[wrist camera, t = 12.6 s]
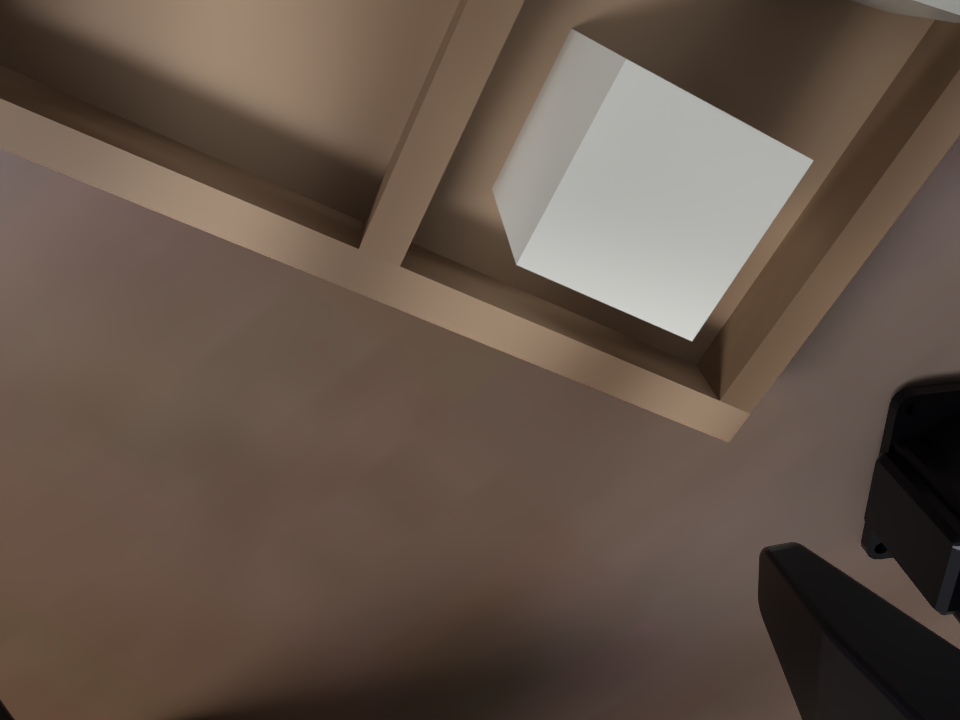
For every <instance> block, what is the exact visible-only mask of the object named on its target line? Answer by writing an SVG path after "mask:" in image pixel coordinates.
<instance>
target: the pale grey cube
mask: <svg viewBox="0 0 960 720" xmlns="http://www.w3.org/2000/svg"><path fill="white" fill-rule="evenodd" d="M850 1H854V2H857V3H860V4H863V5H866V6H869V7H873V8H876V9H879V10H882V11H885V12H889V13H895V14H902V15H908V16H915V17H922V18H928V19H935V20H941V21H948V22H954V23H960V0H850Z"/></svg>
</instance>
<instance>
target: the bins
mask: <svg viewBox="0 0 960 720" xmlns="http://www.w3.org/2000/svg"><path fill="white" fill-rule="evenodd" d="M571 29H573V30H575V31H577V32H579V33H581V34H582V35H584V36H586V37H588V38H590V39H592V40H594V41H595V42H597V43H599V44H601V45H603V46H605V47H606V48H608V49H610V50H612V51H614V52H616V53H618V54H619V55H621V56H623V57H625V58H627V59H629V60H630V61H632V62H634V63H636V64H638V65H640V66H642V67H643V68H645V69H647V70H649V71H651V72H653V73H654V74H656V75H658V76H660V77H662V78H664V79H665V80H667V81H669V82H671V83H673V84H675V85H677V86H678V87H680V88H682V89H684V90H686V91H688V92H689V93H691V94H693V95H695V96H697V97H699V98H701V99H702V100H704V101H706V102H708V103H710V104H712V105H713V106H715V107H717V108H719V109H721V110H723V111H724V112H726V113H728V114H730V115H732V116H734V117H735V118H737V119H739V120H741V121H743V122H744V123H746V124H748V125H750V126H752V127H754V128H755V129H757V130H759V131H761V132H763V133H765V134H766V135H768V136H770V137H772V138H774V139H775V140H777V141H779V142H781V143H783V144H785V145H786V146H788V147H790V148H792V149H794V150H796V151H797V152H799V153H801V154H803V155H805V156H806V157H808V158H810V159H812V160H814V161H813V162H812V164H811V165H810V167H809V168H808V170H807V171H806V173H805V174H804V176H803V177H802V179H801V180H800V182H799V183H798V185H797V186H796V188H795V189H794V191H793V192H792V194H791V195H790V197H789V198H788V200H787V201H786V203H785V204H784V205H783V207H782V208H781V210H780V211H779V213H778V214H777V216H776V217H775V219H774V220H773V222H772V223H771V225H770V226H769V228H768V229H767V231H766V232H765V234H764V235H763V237H762V238H761V240H760V241H759V243H758V244H757V246H756V247H755V249H754V250H753V252H752V253H751V255H750V256H749V258H748V259H747V261H746V262H745V263H744V265H743V266H742V268H741V269H740V271H739V272H738V274H737V275H736V277H735V278H734V280H733V281H732V283H731V284H730V286H729V287H728V289H727V290H726V292H725V293H724V295H723V296H722V298H721V299H720V301H719V302H718V304H717V305H716V307H715V308H714V310H713V311H712V313H711V314H710V316H709V317H708V319H707V320H706V322H705V323H704V324H703V326H702V327H701V329H700V330H699V332H698V333H697V335H696V336H695V338H694V339H693V341H690V340H688V339H685V338H683V337H681V336H678V335H676V334H674V333H672V332H669V331H667V330H665V329H662V328H660V327H658V326H655V325H653V324H651V323H649V322H646V321H644V320H642V319H639V318H637V317H635V316H633V315H630V314H628V313H626V312H623V311H621V310H619V309H616V308H614V307H612V306H610V305H607V304H605V303H603V302H600V301H598V300H596V299H593V298H591V297H589V296H587V295H584V294H582V293H580V292H577V291H575V290H573V289H571V288H568V287H566V286H564V285H561V284H559V283H557V282H554V281H552V280H550V279H548V278H545V277H543V276H541V275H538V274H536V273H534V272H532V271H529V270H527V269H525V268H522V267H520V266H518V265H516V262H515V259H514V256H513V253H512V250H511V247H510V244H509V241H508V238H507V234H506V231H505V228H504V225H503V222H502V219H501V216H500V213H499V210H498V207H497V203H496V200H495V197H494V194H493V191H492V188H493V186H494V184H495V182H496V180H497V178H498V176H499V174H500V172H501V170H502V167H503V165H504V163H505V161H506V159H507V157H508V155H509V153H510V151H511V149H512V147H513V145H514V143H515V141H516V139H517V137H518V135H519V133H520V131H521V129H522V127H523V125H524V123H525V121H526V119H527V117H528V115H529V113H530V111H531V109H532V107H533V105H534V103H535V101H536V99H537V97H538V95H539V93H540V91H541V89H542V87H543V85H544V83H545V81H546V79H547V77H548V75H549V73H550V71H551V69H552V67H553V65H554V63H555V61H556V59H557V57H558V55H559V52H560V50H561V48H562V46H563V44H564V42H565V40H566V38H567V36H568V34H569V32H570V30H571ZM959 135H960V23H954V22H948V21H941V20H935V19H928V18H922V17H915V16H908V15H902V14H895V13H889V12H885V11H882V10H879V9H876V8H873V7H869V6H866V5H863V4H860V3H857V2H854V1H850V0H0V149H2V150H5V151H7V152H10V153H12V154H15V155H17V156H20V157H22V158H25V159H27V160H29V161H32V162H34V163H37V164H39V165H42V166H44V167H47V168H49V169H52V170H54V171H57V172H59V173H62V174H64V175H67V176H69V177H72V178H74V179H77V180H79V181H82V182H84V183H86V184H89V185H91V186H94V187H96V188H99V189H101V190H104V191H106V192H109V193H111V194H114V195H116V196H119V197H121V198H124V199H126V200H129V201H131V202H134V203H136V204H138V205H141V206H143V207H146V208H148V209H151V210H153V211H156V212H158V213H161V214H163V215H166V216H168V217H171V218H173V219H176V220H178V221H181V222H183V223H186V224H188V225H190V226H193V227H195V228H198V229H200V230H203V231H205V232H208V233H210V234H213V235H215V236H218V237H220V238H223V239H225V240H228V241H230V242H233V243H235V244H238V245H240V246H243V247H245V248H247V249H250V250H252V251H255V252H257V253H260V254H262V255H265V256H267V257H270V258H272V259H275V260H277V261H280V262H282V263H285V264H287V265H290V266H292V267H295V268H297V269H299V270H302V271H304V272H307V273H309V274H312V275H314V276H317V277H319V278H322V279H324V280H327V281H329V282H332V283H334V284H337V285H339V286H342V287H344V288H347V289H349V290H352V291H354V292H356V293H359V294H361V295H364V296H366V297H369V298H371V299H374V300H376V301H379V302H381V303H384V304H386V305H389V306H391V307H394V308H396V309H399V310H401V311H404V312H406V313H408V314H411V315H413V316H416V317H418V318H421V319H423V320H426V321H428V322H431V323H433V324H436V325H438V326H441V327H443V328H446V329H448V330H451V331H453V332H456V333H458V334H461V335H463V336H465V337H468V338H470V339H473V340H475V341H478V342H480V343H483V344H485V345H488V346H490V347H493V348H495V349H498V350H500V351H503V352H505V353H508V354H510V355H513V356H515V357H517V358H520V359H522V360H525V361H527V362H530V363H532V364H535V365H537V366H540V367H542V368H545V369H547V370H550V371H552V372H555V373H557V374H560V375H562V376H565V377H567V378H570V379H572V380H574V381H577V382H579V383H582V384H584V385H587V386H589V387H592V388H594V389H597V390H599V391H602V392H604V393H607V394H609V395H612V396H614V397H617V398H619V399H622V400H624V401H626V402H629V403H631V404H634V405H636V406H639V407H641V408H644V409H646V410H649V411H651V412H654V413H656V414H659V415H661V416H664V417H666V418H669V419H671V420H674V421H676V422H679V423H681V424H683V425H686V426H688V427H691V428H693V429H696V430H698V431H701V432H703V433H706V434H708V435H711V436H713V437H716V438H718V439H721V440H723V441H726V442H728V443H729V442H730V441H731V439H732V438H733V437H734V435H735V434H736V433H737V431H738V430H739V429H740V427H741V426H742V425H743V423H744V422H745V421H746V419H747V418H748V417H749V415H750V414H751V413H752V411H753V410H754V409H755V407H756V406H757V405H758V403H759V402H760V401H761V399H762V398H763V397H764V395H765V394H766V393H767V391H768V390H769V389H770V387H771V386H772V385H773V383H774V382H775V381H776V379H777V378H778V377H779V375H780V374H781V373H782V371H783V370H784V369H785V367H786V366H787V365H788V363H789V362H790V361H791V359H792V358H793V357H794V355H795V354H796V353H797V351H798V350H799V349H800V347H801V346H802V345H803V343H804V342H805V341H806V339H807V338H808V337H809V335H810V334H811V333H812V331H813V330H814V329H815V327H816V326H817V325H818V323H819V322H820V321H821V319H822V318H823V317H824V315H825V314H826V313H827V311H828V310H829V309H830V307H831V306H832V305H833V303H834V302H835V301H836V299H837V298H838V297H839V295H840V294H841V293H842V291H843V290H844V289H845V287H846V286H847V285H848V283H849V282H850V281H851V279H852V278H853V277H854V275H855V274H856V273H857V271H858V270H859V269H860V267H861V266H862V265H863V263H864V262H865V261H866V259H867V258H868V257H869V255H870V254H871V253H872V251H873V250H874V249H875V247H876V246H877V245H878V243H879V242H880V241H881V239H882V238H883V237H884V235H885V234H886V233H887V231H888V230H889V229H890V227H891V226H892V225H893V223H894V222H895V221H896V219H897V218H898V217H899V215H900V214H901V213H902V211H903V210H904V209H905V207H906V206H907V205H908V203H909V202H910V201H911V199H912V198H913V197H914V195H915V194H916V193H917V191H918V190H919V189H920V187H921V186H922V185H923V183H924V182H925V181H926V179H927V178H928V177H929V175H930V174H931V173H932V171H933V170H934V169H935V167H936V166H937V165H938V163H939V162H940V161H941V159H942V158H943V157H944V155H945V154H946V153H947V151H948V150H949V149H950V147H951V146H952V145H953V143H954V142H955V141H956V139H957V138H958V137H959Z"/></svg>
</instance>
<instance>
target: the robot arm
mask: <svg viewBox="0 0 960 720" xmlns="http://www.w3.org/2000/svg"><path fill="white" fill-rule="evenodd" d="M913 402H914V403H913ZM910 403H913V405H912V406H911V407H909V408H907V409H906V407H907V406H908V405H909V404H910ZM864 519H865V525H864V530H863V535H862V540H861V546H862V547H863V549H864V550H865V551H866V553H867V554H868V555H869V557H871V558H873V559H885V558H894V559H895V560H896V561H897V563H898V564H899V565H900V566H901V568H902V569H903V570H904V572H905V573H906V574H907V575H908V577H909V578H910V579H911V581H912V582H913V583H914V584H915V586H916V587H917V588H918V589H919V591H920V592H921V593H922V595H923V596H924V597H925V598H926V600H927V601H928V602H929V604H930V605H931V606H932V607H933V608H934V609H935V610H936V611H937V612H939V613H940V614H941V615H949V614H953V615H954V616H955V618H956V619H957V620H958V621H959V623H960V382H959V383H950V384H941V385H932V386H924V387H915V388H908V389H904V390H902V391H900V392H898V393H897V394H896V395H895V396H894V397H893V398H892V400H891V402H890V405H889V410H888V415H887V419H886V424H885V429H884V434H883V439H882V444H881V448H880V453H879V457H878V459H877V460H876V463H875V468H874V473H873V478H872V483H871V487H870V492H869V497H868V502H867V507H866V512H865V517H864ZM758 602H759V608H760V612H761V615H762V618H763V621H764V623H765V626H766V628H767V631H768V634H769V636H770V639H771V641H772V644H773V646H774V649H775V651H776V654H777V656H778V659H779V661H780V664H781V667H782V669H783V672H784V674H785V677H786V679H787V682H788V684H789V687H790V689H791V692H792V695H793V697H794V700H795V702H796V705H797V707H798V710H799V712H800V715H801V717H802V720H960V649H958V648H957V647H955V646H954V645H952V644H951V643H949V642H948V641H946V640H945V639H943V638H942V637H940V636H938V635H937V634H935V633H934V632H932V631H931V630H929V629H928V628H926V627H925V626H923V625H922V624H920V623H919V622H917V621H916V620H914V619H913V618H911V617H910V616H908V615H907V614H905V613H904V612H902V611H901V610H899V609H898V608H896V607H895V606H893V605H892V604H890V603H889V602H887V601H886V600H884V599H883V598H881V597H880V596H878V595H877V594H875V593H874V592H872V591H871V590H869V589H868V588H866V587H865V586H863V585H862V584H860V583H859V582H857V581H856V580H854V579H853V578H851V577H850V576H848V575H847V574H845V573H844V572H842V571H841V570H839V569H838V568H836V567H835V566H833V565H832V564H830V563H829V562H827V561H826V560H824V559H823V558H821V557H820V556H818V555H816V554H815V553H813V552H812V551H810V550H809V549H807V548H806V547H804V546H803V545H801V544H798V543H795V542H790V543H784V544H779V545H773V546H768V547H765V548H763V549H762V550H761V553H760V557H759V581H758ZM0 720H15V719H14V718H13V717H12V715H11V714H10V713H9V711H8V710H7V708H6V707H5V706H4V704H3V703H2V701H1V700H0Z"/></svg>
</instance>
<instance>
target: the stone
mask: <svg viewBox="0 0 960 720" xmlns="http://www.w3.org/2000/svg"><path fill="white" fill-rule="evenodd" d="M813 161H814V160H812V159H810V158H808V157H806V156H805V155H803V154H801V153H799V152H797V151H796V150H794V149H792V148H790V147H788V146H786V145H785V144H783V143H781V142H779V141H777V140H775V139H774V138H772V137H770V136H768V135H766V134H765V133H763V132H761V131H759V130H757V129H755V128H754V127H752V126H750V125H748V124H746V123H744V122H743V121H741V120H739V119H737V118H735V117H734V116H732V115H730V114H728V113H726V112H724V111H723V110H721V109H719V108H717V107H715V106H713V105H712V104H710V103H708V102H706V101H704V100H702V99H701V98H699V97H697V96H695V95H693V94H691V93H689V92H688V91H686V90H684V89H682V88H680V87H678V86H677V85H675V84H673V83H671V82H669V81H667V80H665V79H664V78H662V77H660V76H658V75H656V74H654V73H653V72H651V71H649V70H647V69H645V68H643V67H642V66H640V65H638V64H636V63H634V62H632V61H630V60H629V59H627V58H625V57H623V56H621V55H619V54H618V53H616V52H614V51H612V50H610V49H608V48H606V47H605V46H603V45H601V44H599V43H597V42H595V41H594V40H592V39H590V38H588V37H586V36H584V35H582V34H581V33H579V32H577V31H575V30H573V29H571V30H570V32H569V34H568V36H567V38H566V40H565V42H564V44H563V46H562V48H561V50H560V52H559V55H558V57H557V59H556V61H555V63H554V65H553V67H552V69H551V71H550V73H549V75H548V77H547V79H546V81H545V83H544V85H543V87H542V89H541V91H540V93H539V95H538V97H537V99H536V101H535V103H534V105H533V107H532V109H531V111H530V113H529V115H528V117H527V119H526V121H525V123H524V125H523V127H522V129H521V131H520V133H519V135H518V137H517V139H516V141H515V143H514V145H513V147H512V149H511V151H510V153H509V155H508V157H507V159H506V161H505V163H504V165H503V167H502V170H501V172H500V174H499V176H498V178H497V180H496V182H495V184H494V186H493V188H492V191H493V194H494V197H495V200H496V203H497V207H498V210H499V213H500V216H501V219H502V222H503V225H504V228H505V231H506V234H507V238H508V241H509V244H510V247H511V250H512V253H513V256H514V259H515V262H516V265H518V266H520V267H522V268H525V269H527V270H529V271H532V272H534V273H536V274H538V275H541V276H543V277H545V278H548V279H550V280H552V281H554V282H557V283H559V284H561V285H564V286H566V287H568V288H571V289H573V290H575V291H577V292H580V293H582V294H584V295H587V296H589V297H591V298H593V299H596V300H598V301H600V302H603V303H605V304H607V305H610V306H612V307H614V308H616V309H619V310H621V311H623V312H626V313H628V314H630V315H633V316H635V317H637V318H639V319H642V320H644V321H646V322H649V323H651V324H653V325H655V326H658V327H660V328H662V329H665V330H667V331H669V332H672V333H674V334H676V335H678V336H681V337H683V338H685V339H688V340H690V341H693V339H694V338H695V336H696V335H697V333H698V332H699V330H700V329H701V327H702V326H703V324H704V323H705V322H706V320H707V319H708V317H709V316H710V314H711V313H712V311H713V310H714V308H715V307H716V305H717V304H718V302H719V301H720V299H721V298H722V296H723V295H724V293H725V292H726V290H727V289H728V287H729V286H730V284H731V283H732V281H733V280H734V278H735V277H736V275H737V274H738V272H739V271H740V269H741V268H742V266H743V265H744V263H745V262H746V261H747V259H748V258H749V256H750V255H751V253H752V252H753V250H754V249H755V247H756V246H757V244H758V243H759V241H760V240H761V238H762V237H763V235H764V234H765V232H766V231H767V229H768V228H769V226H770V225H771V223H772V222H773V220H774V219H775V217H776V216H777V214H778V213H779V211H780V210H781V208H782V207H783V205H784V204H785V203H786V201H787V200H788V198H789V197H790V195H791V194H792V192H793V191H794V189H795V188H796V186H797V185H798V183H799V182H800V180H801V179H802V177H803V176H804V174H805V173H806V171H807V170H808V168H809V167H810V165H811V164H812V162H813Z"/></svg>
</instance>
